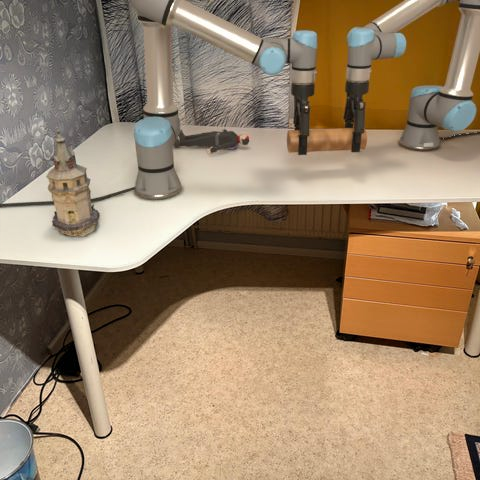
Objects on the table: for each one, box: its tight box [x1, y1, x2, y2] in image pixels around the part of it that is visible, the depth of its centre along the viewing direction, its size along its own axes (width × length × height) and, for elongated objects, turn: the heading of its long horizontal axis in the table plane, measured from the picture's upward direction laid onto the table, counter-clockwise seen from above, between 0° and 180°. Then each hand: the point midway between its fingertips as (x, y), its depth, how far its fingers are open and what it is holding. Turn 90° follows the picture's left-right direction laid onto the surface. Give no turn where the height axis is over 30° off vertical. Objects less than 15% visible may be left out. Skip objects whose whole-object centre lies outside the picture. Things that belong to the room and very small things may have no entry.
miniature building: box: [46, 129, 101, 237], centre depth 148 cm, size 13×14×30 cm
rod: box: [286, 127, 368, 154], centre depth 182 cm, size 26×7×7 cm, turn 95°
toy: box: [173, 128, 250, 154], centre depth 214 cm, size 26×6×30 cm
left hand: (300, 150), depth 183 cm, fingers closed on rod, 7 cm apart
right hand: (351, 146), depth 184 cm, fingers open, 9 cm apart
